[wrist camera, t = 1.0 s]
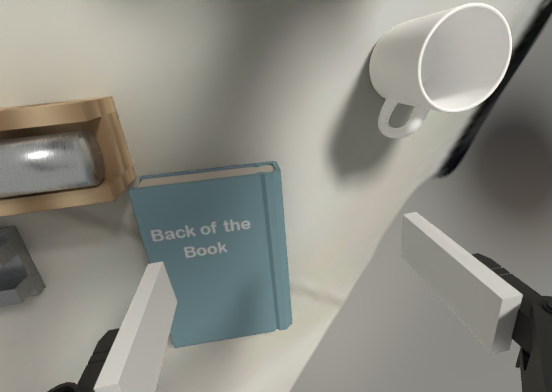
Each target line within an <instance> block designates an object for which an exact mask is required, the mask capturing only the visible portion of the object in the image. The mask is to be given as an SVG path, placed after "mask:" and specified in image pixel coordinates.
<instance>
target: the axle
mask: <svg viewBox="0 0 552 392" xmlns="http://www.w3.org/2000/svg"><path fill="white" fill-rule="evenodd" d="M104 172H105V164H104V158H103V154H102V151H101V148H100V146H99V144H98V142H97V140H96V139H95V137H94V136H93V135H92V134H91V133H90V132H88V131H86V130H80V131H72V132H63V133H55V134H46V135H37V136H29V137H20V138H12V139H3V140H0V198H4V197H11V196H19V195H26V194H34V193H42V192H49V191H57V190H64V189H72V188H79V187H87V186H95V185H99V184H100V183H101V182H102V180H103V177H104Z"/></svg>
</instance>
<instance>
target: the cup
mask: <svg viewBox="0 0 552 392" xmlns="http://www.w3.org/2000/svg"><path fill="white" fill-rule="evenodd" d="M511 51H512V37H511V32H510V28H509V25H508V23H507V21H506V19H505V18H504V16H503V15H502V14H501V13H500V12H499V11H498V10H497V9H495V8H493V7H492V6H489V5H487V4H482V3H470V4H465V5H462V6H458V7H455V8H451V9H448V10H444V11H441V12H437V13H434V14H430V15H427V16H423V17H420V18H416V19H413V20H409V21H406V22H403V23H400V24H398V25H396V26H394V27H392V28H391V29H389V30H388V31H387V32H386V33H385V34H384V35H383V36H382V37H381V38H380V39H379V41H378V42H377V44H376V45H375V47H374V49H373V52H372V55H371V58H370V64H369V74H370V79H371V82H372V85H373V87H374V89H375V90H376V91H377V93H378V94H379V95H381V96H382V97H383V98H385V99H386V100H385V102H384V105H383V107H382V109H381V112H380V115H379V119H378V127H379V130H380V132H381V133H382V134H383V135H385V136H387V137H389V138H395V139H399V138H404V137H407V136H410V135H411V134H413V133H414V132H415V131H416V130H417V129H418V128H419V127H420V125H421V124H422V122H423V121H424V119H425V118H426V116H427V114H428V112H429V110H430V109H432V110H437V111H442V112H447V113H457V112H462V111H466V110H469V109H471V108H473V107H475V106H477V105H478V104H480V103H481V102H483V101H484V100H485V99H486V98H488V97H489V96H490V95H491V94H492V92H493V91H494V90H495V89H496V88H497V86H498V85H499V83H500V82H501V80H502V79H503V77H504V75H505V72H506V70H507V68H508V65H509V61H510V57H511ZM398 103H400V104H406V105H411V106H415V108H414V110H413V112H412V114H411V116H410V118H409V120H408V121H407V123H406V124H405V125H404V126H402V127H399V128H393V127H390V126H389V118H390V116H391V114H392V112H393V110H394V108H395V107H396V105H397V104H398Z"/></svg>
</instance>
